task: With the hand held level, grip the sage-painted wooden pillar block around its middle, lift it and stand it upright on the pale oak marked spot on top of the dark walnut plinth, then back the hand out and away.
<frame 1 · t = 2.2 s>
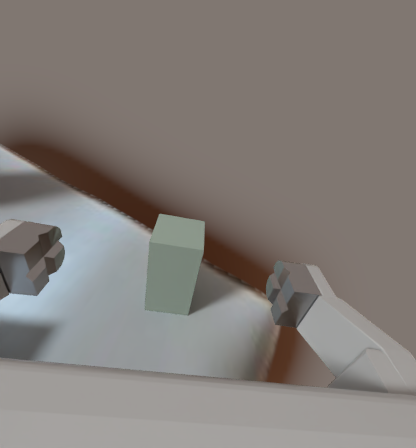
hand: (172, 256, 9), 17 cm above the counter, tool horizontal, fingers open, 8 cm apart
pillar block: (169, 295, 28), on the counter
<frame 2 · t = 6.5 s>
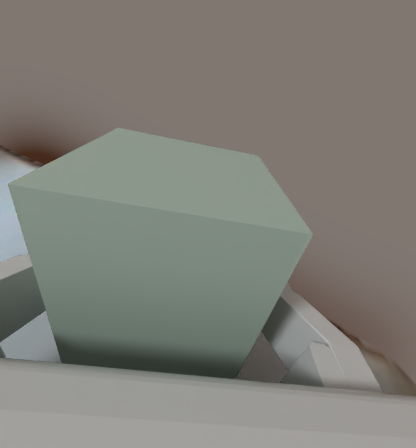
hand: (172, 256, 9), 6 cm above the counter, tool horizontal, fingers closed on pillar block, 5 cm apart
pillar block: (157, 361, 11), on the counter, touching gripper
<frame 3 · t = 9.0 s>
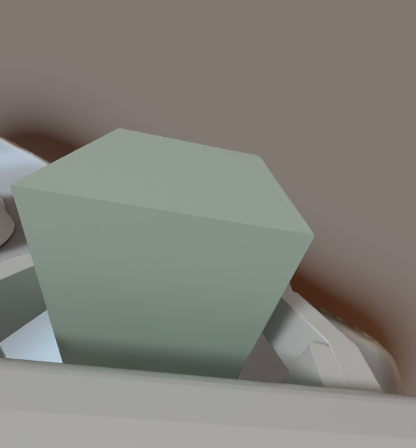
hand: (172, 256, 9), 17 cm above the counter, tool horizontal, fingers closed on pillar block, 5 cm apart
pillar block: (157, 361, 11), point 11 cm above the counter, touching gripper
when the fingers open (11 cm above the counter, at t = 11.4 s): pillar block drops 1 cm, resting on build plinth.
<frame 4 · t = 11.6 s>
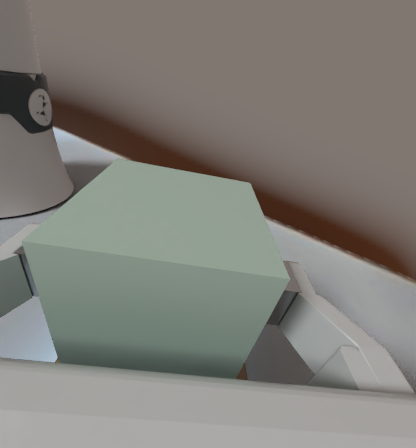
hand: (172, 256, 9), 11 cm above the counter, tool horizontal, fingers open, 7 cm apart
pillar block: (155, 372, 12), point 4 cm above the counter, touching build plinth
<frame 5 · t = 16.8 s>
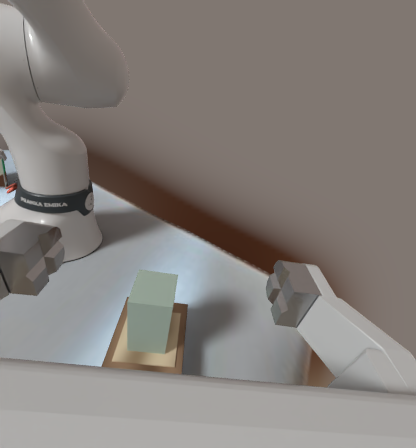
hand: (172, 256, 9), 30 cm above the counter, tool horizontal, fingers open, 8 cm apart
build plinth: (148, 349, 34), on the counter
pillar block: (150, 334, 32), point 4 cm above the counter, touching build plinth
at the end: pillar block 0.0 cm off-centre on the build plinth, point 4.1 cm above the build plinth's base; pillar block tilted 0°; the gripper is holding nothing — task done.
